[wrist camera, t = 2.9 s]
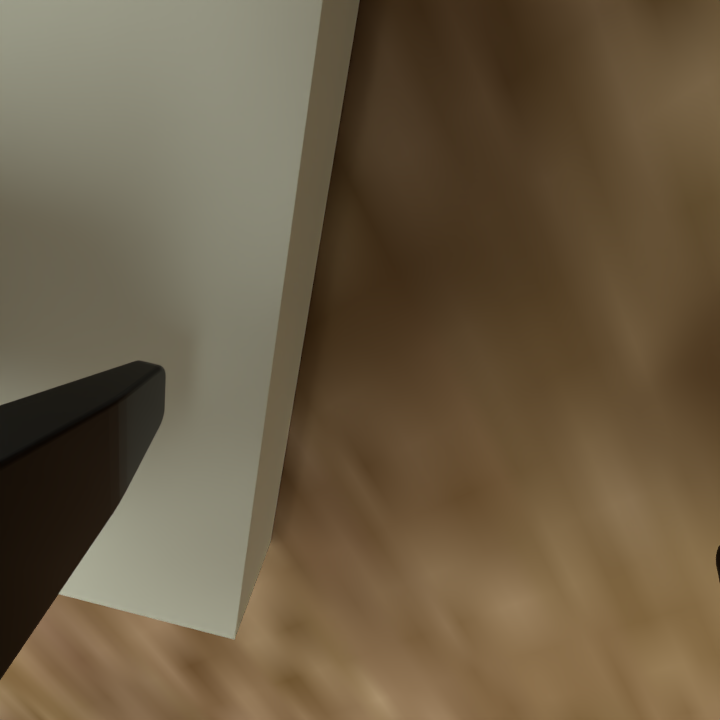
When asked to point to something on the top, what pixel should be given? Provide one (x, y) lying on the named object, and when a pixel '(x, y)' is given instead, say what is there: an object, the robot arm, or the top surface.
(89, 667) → the top surface
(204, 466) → the platform
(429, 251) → the top surface
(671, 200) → the top surface
